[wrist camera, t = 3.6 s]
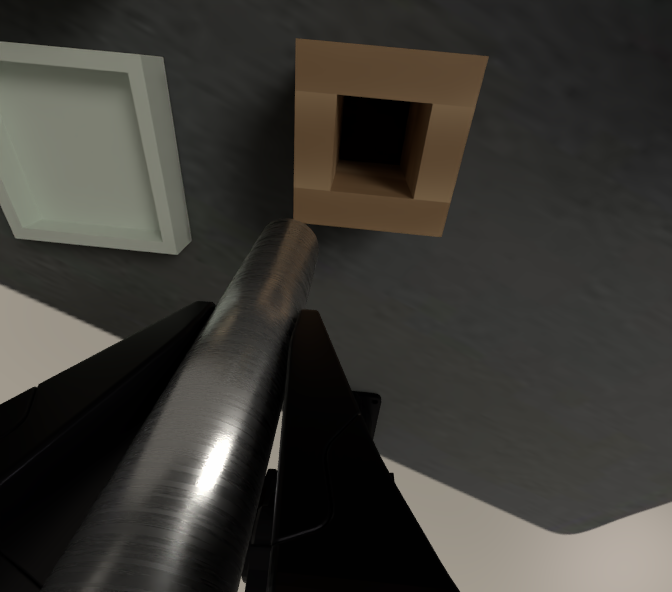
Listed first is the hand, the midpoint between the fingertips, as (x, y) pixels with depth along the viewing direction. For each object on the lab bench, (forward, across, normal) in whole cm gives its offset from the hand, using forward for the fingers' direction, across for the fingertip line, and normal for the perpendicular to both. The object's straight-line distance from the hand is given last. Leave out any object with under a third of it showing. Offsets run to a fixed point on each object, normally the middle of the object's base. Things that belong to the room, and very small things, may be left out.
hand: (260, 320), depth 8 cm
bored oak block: (+13, -3, -3) cm, 13 cm away
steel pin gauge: (+4, 0, 0) cm, 4 cm away
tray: (+13, +12, 0) cm, 18 cm away
